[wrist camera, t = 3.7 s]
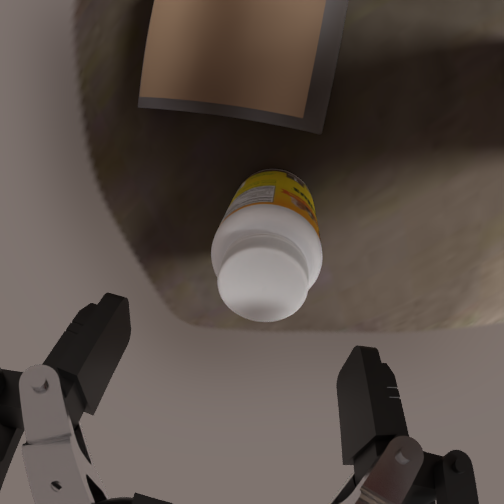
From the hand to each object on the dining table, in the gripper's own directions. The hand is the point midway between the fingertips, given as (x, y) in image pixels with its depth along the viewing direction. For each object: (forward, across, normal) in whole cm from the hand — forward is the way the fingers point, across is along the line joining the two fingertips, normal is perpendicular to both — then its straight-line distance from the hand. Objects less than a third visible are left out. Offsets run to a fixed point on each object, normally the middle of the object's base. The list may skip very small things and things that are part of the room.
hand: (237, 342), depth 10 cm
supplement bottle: (+14, -1, 0) cm, 14 cm away
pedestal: (+14, +3, -11) cm, 18 cm away
